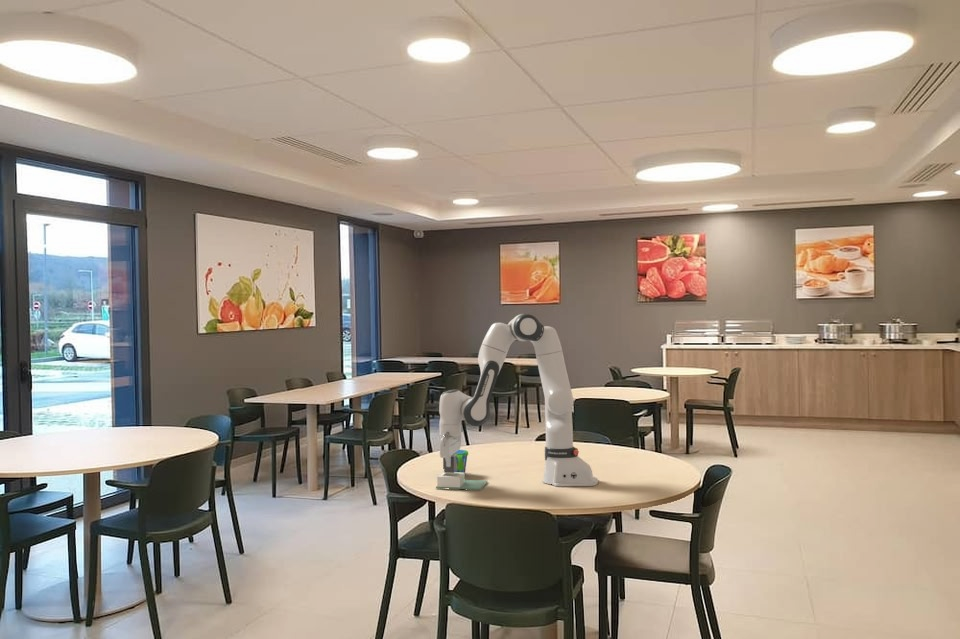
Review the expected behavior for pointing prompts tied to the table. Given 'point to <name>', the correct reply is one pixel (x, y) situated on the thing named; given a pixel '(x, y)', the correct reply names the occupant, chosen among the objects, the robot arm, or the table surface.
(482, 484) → the header board
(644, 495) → the table surface
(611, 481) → the table surface
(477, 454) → the table surface
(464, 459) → the snack cup
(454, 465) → the plug
